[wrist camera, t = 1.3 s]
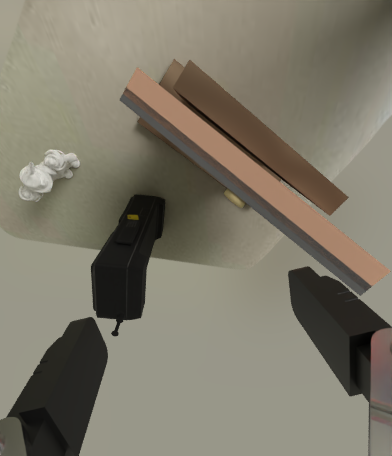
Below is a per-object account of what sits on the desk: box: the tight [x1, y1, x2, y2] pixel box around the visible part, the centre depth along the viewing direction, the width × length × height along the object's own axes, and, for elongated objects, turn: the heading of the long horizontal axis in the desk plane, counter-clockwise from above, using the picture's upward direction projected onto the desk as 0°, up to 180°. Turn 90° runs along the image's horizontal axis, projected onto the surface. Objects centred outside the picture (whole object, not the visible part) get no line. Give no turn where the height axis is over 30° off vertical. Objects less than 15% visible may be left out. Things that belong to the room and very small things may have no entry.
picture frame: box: [120, 67, 390, 295], centre depth 25 cm, size 3×22×16 cm, turn 54°
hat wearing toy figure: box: [18, 149, 80, 202], centre depth 37 cm, size 9×4×12 cm, turn 135°
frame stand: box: [138, 59, 348, 215], centre depth 30 cm, size 10×24×24 cm, turn 54°
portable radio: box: [91, 195, 165, 336], centre depth 35 cm, size 8×6×25 cm
